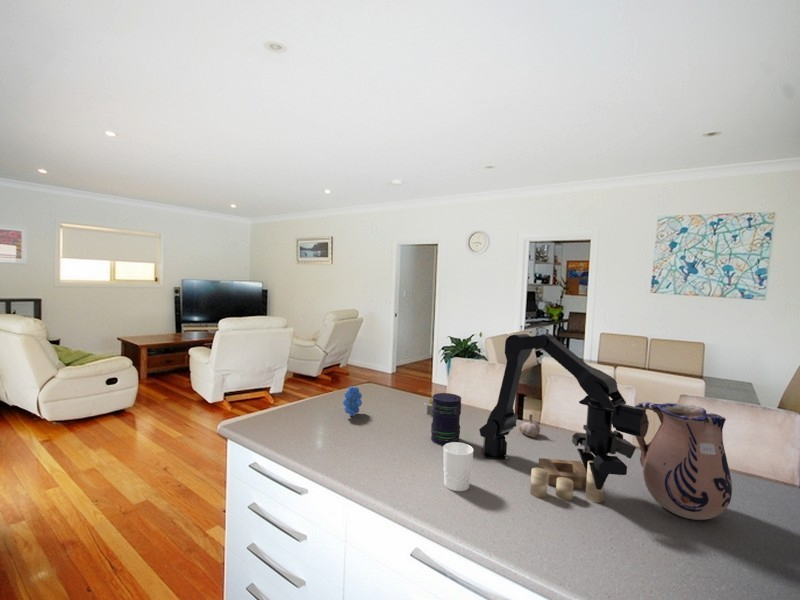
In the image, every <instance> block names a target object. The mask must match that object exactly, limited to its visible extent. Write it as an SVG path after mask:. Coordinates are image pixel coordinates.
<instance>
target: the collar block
mask: <svg viewBox="0 0 800 600" xmlns="http://www.w3.org/2000/svg"><path fill="white" fill-rule="evenodd" d="M537 465H538V467H537V468H542V469H545V470H546V471H547V472H548V480H547V486H553V487H556V483H557V478H558V477H565V478H568V479H570V480H572V481H573V488H579V489H586V482H587V473H586V470H585V467H584V465H583V462H582V460H581V461H580V460H569V459H568V460H567V459H557V458H556V459H555V458H541V457H539V458H538V463H537Z"/></svg>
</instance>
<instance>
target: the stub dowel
mask: <svg viewBox="0 0 800 600" xmlns="http://www.w3.org/2000/svg"><path fill="white" fill-rule="evenodd" d="M555 496H556V497H557V498H559V499H560V500H563V501H571V500H573V496H574V487H573V481H572V480H570V479H568V478H565V477H558V478H557V483H556V486H555Z"/></svg>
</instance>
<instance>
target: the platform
mask: <svg viewBox="0 0 800 600" xmlns="http://www.w3.org/2000/svg"><path fill="white" fill-rule="evenodd" d="M432 403H433V398H430V399H429V401H425V402H424V405H425V406H427V407H426V415H430V416H432V417H433V413H432Z"/></svg>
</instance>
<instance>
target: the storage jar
mask: <svg viewBox="0 0 800 600" xmlns="http://www.w3.org/2000/svg"><path fill="white" fill-rule="evenodd" d="M432 399H433V403H432V413H433V416H432V422H431V424H430V425H431V427H430V434H431V435H430V440H431V442H432V443H434V444H435V445H439V446H443V447H444V445H445V444H447V443H451V442H459V443H460V434H461V425H460V417H461V414H462V397H461V396H460V395H457V394H455V393H447V392H441V393H439V392H438V393H434V394H433V395H432Z"/></svg>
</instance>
